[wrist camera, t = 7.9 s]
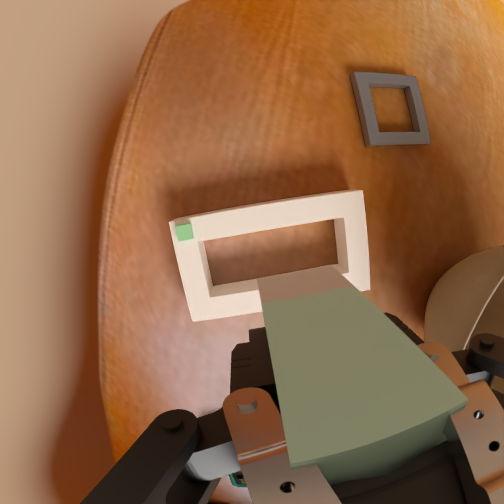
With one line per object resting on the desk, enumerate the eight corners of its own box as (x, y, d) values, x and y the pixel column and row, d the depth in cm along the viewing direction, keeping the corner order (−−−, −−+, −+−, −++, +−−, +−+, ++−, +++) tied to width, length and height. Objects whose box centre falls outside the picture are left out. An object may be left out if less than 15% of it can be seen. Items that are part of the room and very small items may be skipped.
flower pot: (506, 280, 28) (563, 308, 16) (435, 380, 31) (479, 431, 19) (454, 193, 25) (536, 205, 14) (361, 324, 28) (416, 393, 16)
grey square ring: (410, 79, 22) (415, 76, 21) (424, 144, 24) (431, 143, 23) (349, 75, 23) (354, 71, 21) (365, 146, 24) (370, 145, 23)
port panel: (349, 189, 25) (365, 190, 22) (358, 279, 27) (372, 291, 24) (176, 218, 25) (166, 222, 22) (197, 308, 27) (191, 325, 24)
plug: (330, 264, 13) (468, 399, 4) (335, 329, 14) (427, 483, 4) (256, 278, 13) (290, 464, 4) (268, 343, 14) (300, 525, 4)
